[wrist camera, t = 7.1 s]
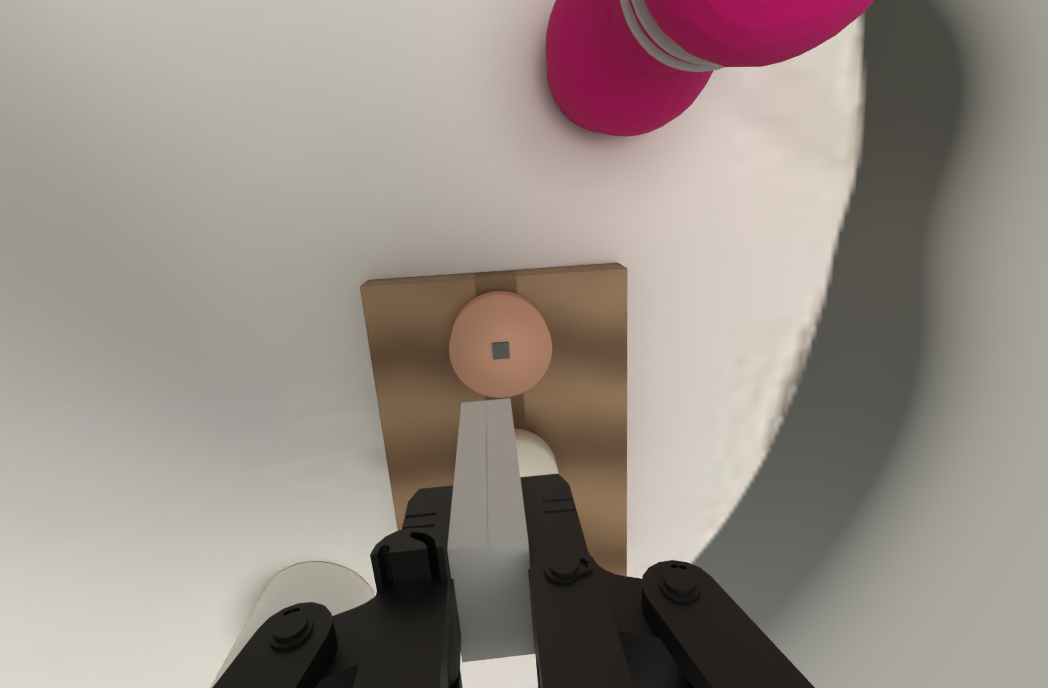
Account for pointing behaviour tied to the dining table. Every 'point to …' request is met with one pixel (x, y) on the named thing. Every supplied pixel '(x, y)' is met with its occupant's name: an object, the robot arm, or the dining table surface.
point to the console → (545, 409)
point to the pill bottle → (302, 597)
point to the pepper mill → (671, 51)
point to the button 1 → (500, 344)
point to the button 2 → (534, 455)
